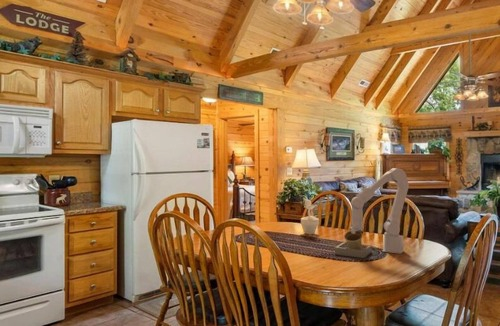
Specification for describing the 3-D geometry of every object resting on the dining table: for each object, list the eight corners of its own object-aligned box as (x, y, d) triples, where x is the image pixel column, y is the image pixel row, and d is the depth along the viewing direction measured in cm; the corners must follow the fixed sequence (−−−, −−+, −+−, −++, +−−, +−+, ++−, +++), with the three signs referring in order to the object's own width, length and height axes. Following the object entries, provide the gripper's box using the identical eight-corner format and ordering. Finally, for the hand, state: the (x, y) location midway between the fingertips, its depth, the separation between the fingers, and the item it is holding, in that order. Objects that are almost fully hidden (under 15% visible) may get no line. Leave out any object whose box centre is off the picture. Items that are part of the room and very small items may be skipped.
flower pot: (345, 254, 198) (343, 241, 194) (347, 243, 206) (344, 230, 202) (364, 254, 194) (361, 241, 191) (365, 243, 202) (362, 229, 199)
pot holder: (371, 252, 198) (371, 245, 198) (363, 258, 187) (363, 251, 187) (343, 248, 206) (343, 242, 206) (334, 254, 195) (334, 247, 195)
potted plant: (297, 232, 250) (297, 194, 249) (312, 231, 255) (312, 194, 254) (308, 236, 238) (308, 196, 238) (323, 234, 243) (323, 195, 243)
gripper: (353, 216, 210) (353, 241, 211) (345, 220, 198) (345, 246, 198) (366, 218, 207) (366, 242, 207) (358, 222, 194) (358, 248, 195)
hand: (357, 244), depth 202 cm, fingers closed, pressing on flower pot
